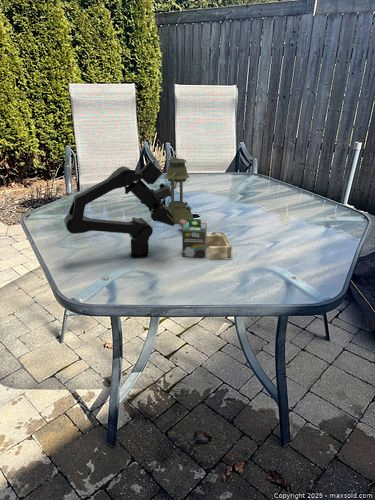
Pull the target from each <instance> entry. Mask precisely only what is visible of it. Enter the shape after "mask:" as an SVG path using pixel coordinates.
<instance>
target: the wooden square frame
mask: <svg viewBox="0 0 375 500" xmlns="http://www.w3.org/2000/svg"><path fill="white" fill-rule="evenodd" d="M206 248H208V260H209V259H218V260H226V259H225V258H231V259H232V251H233V249H232V246H231V244H230V241H229V240H228V238H227V236H226V234H225V233H224V234H219V235H211V234H207V241H206Z"/></svg>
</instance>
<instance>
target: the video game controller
mask: <svg viewBox="0 0 375 500" xmlns="http://www.w3.org/2000/svg"><path fill="white" fill-rule="evenodd" d="M185 223H188V222H187V221H186V220H180V221H179V224H178V227H181V229H182V230H183V227H184V224H185Z"/></svg>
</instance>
